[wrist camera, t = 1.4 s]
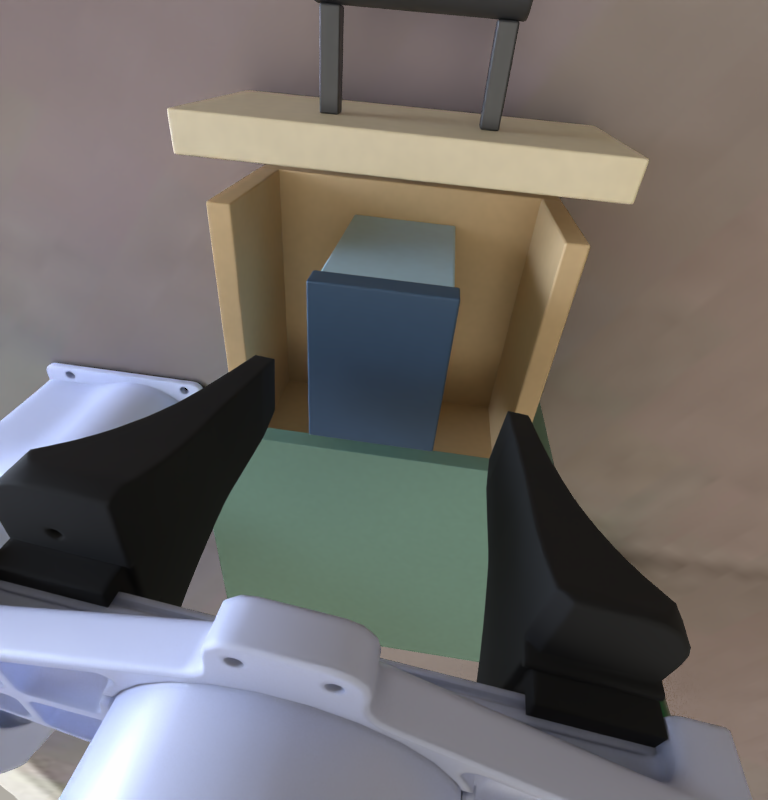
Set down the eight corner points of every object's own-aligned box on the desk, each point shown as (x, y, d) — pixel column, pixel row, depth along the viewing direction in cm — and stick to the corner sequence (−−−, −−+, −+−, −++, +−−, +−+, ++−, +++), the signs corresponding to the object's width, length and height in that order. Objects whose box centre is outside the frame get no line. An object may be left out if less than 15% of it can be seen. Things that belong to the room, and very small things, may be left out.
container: (346, 335, 24) (308, 435, 18) (351, 209, 20) (305, 280, 14) (439, 347, 23) (432, 452, 17) (460, 222, 20) (460, 299, 14)
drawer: (235, -53, 17) (132, -97, 11) (637, -18, 16) (726, -48, 11) (268, 377, 27) (222, 458, 22) (512, 409, 26) (525, 501, 21)
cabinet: (260, 331, 26) (192, 429, 20) (532, 366, 26) (558, 481, 19) (275, 511, 35) (231, 622, 28) (478, 541, 34) (483, 663, 28)
